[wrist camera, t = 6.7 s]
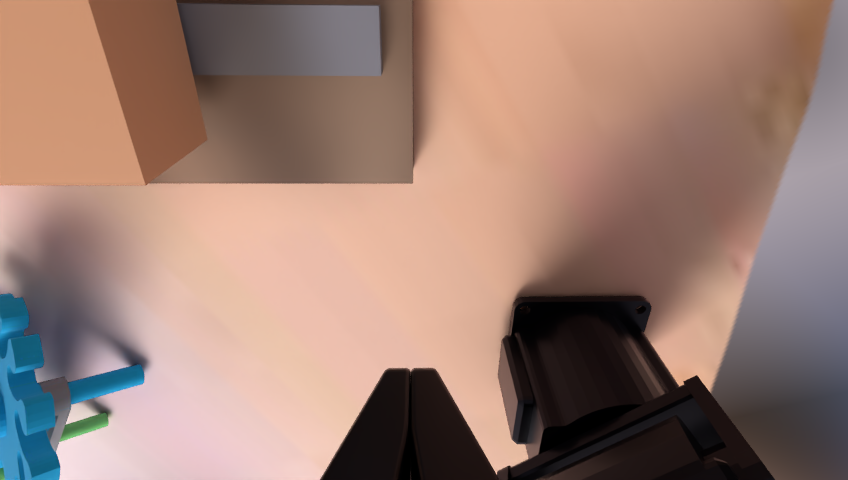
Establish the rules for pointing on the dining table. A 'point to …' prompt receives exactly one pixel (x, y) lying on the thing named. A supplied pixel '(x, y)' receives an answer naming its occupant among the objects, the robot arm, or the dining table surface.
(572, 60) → the dining table surface
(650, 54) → the dining table surface
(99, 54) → the sliding jaw
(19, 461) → the gear
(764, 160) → the dining table surface
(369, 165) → the base
